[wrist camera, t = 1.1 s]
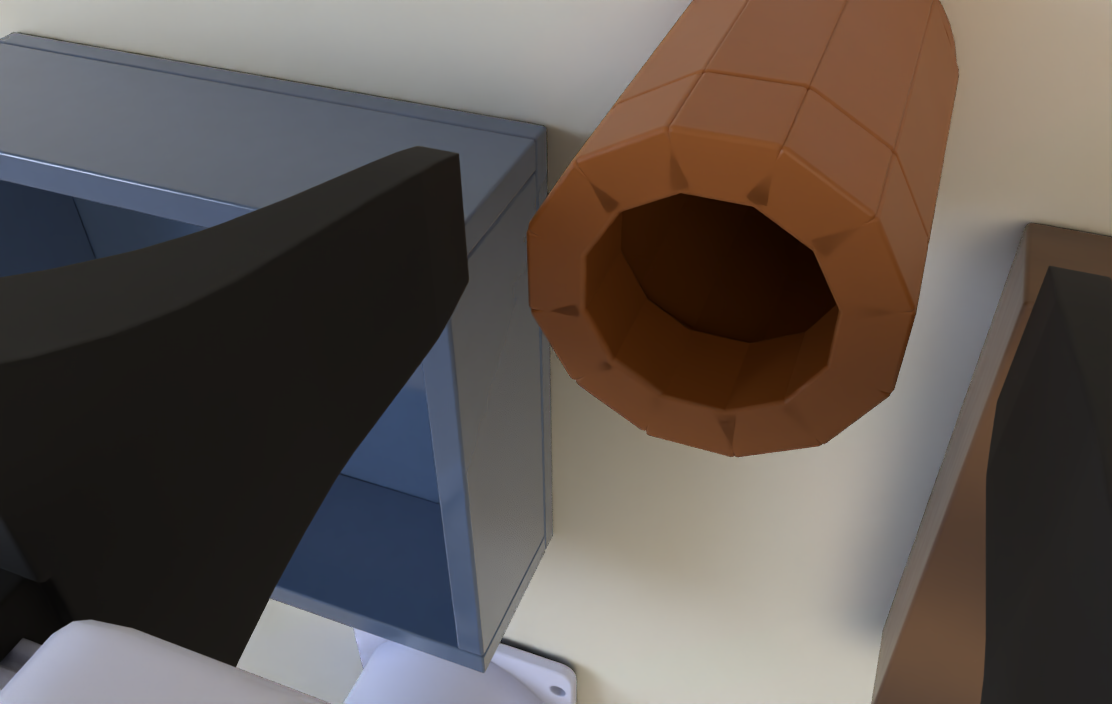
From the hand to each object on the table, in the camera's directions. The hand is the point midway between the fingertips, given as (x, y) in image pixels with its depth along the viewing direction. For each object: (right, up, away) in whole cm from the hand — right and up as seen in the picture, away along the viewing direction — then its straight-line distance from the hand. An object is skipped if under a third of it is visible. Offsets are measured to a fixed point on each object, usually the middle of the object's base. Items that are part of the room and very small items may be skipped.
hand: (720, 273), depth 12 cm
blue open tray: (-8, 0, +13) cm, 15 cm away
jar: (+2, +4, +4) cm, 6 cm away
